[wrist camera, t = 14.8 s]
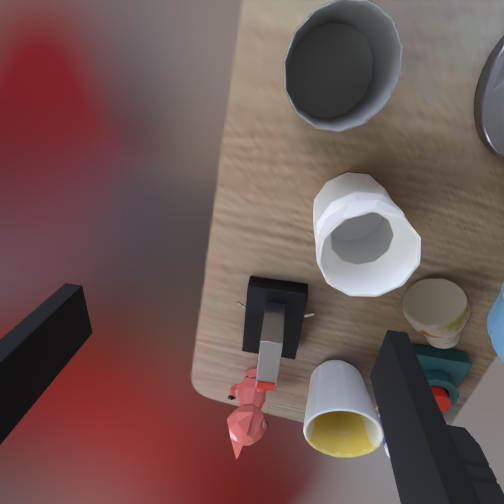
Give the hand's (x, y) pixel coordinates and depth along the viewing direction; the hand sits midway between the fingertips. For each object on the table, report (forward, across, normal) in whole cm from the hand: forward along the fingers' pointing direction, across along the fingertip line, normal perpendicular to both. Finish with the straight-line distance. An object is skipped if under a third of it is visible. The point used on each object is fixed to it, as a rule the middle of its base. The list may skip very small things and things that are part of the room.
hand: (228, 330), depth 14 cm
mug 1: (+27, -13, +32) cm, 44 cm away
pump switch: (+27, -26, +28) cm, 47 cm away
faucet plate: (+27, -2, +20) cm, 34 cm away
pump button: (+23, -26, +28) cm, 45 cm away
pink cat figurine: (+27, 0, +35) cm, 44 cm away
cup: (+27, -5, -11) cm, 29 cm away
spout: (+24, -2, +20) cm, 32 cm away
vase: (+27, -10, +3) cm, 29 cm away
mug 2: (+27, -23, +15) cm, 39 cm away
